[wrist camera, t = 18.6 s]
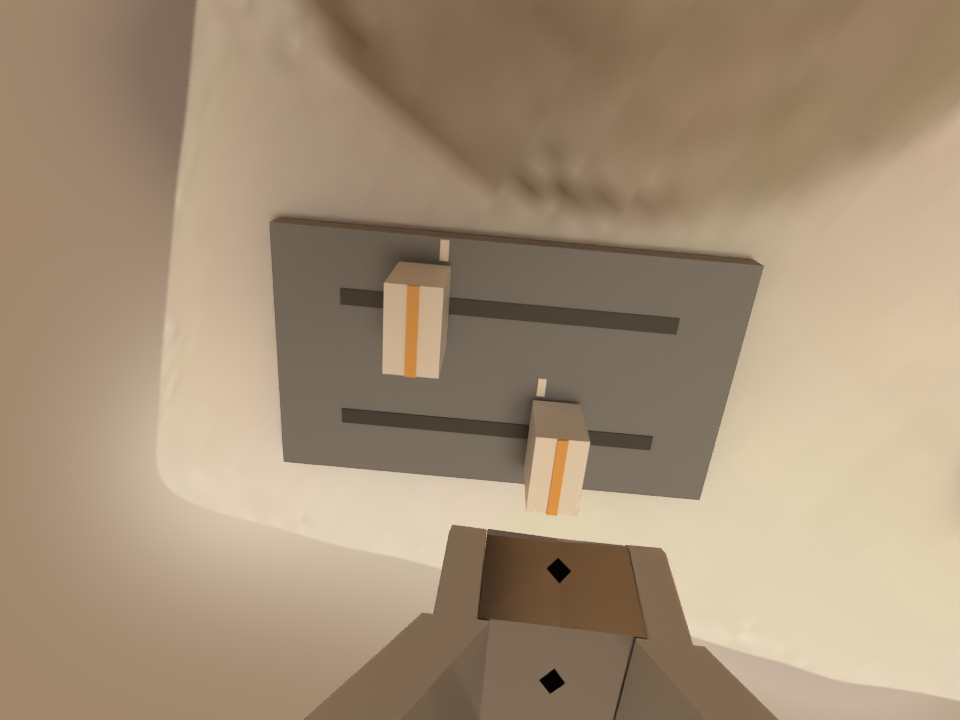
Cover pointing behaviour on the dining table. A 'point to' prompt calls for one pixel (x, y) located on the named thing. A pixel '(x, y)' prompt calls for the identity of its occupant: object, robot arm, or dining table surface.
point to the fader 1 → (415, 319)
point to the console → (508, 354)
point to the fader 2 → (555, 458)
